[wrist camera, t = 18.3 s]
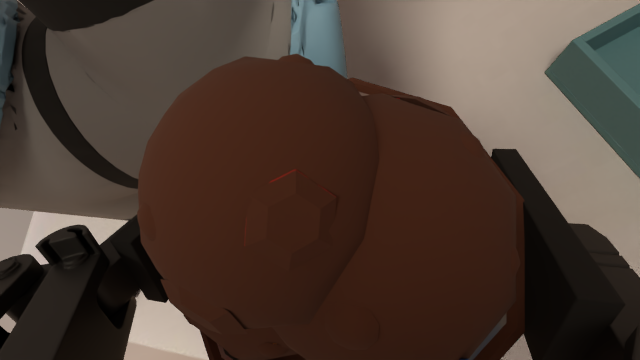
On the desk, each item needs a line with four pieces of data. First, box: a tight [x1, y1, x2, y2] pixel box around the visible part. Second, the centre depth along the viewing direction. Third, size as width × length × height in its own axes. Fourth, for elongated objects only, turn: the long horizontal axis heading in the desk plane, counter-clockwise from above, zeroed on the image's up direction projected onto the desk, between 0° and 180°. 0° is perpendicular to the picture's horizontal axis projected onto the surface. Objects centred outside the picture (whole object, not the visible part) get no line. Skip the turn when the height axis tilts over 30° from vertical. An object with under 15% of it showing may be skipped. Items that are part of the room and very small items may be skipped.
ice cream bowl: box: [137, 54, 525, 360], centre depth 11 cm, size 11×11×15 cm
